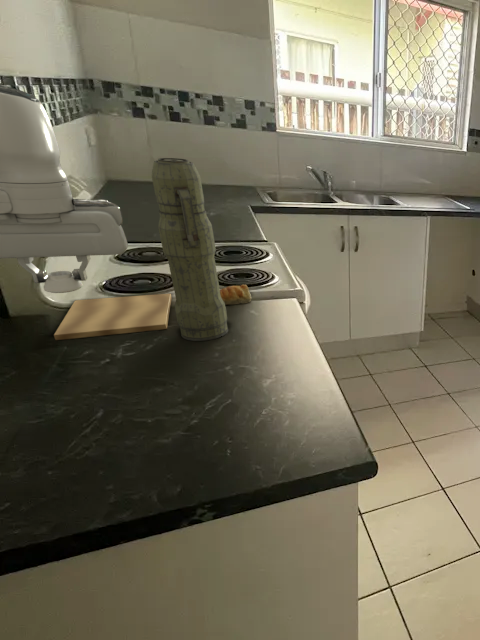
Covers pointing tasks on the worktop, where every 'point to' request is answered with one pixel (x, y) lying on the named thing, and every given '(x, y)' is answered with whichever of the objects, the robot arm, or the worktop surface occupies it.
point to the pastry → (235, 295)
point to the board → (115, 316)
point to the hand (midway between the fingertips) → (61, 281)
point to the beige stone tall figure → (189, 249)
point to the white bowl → (61, 282)
